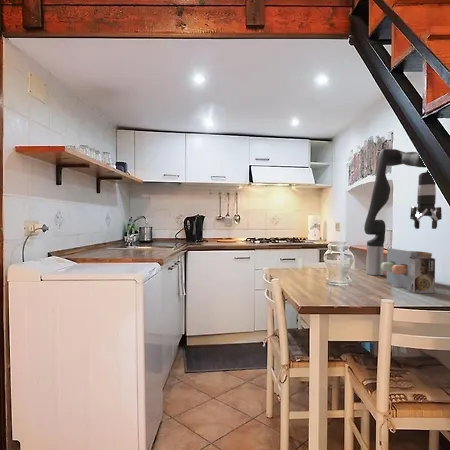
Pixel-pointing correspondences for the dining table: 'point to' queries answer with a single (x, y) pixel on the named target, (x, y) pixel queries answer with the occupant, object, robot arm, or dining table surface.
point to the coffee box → (422, 274)
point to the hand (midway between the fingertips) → (425, 228)
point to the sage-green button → (387, 266)
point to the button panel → (400, 259)
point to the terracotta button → (399, 269)
